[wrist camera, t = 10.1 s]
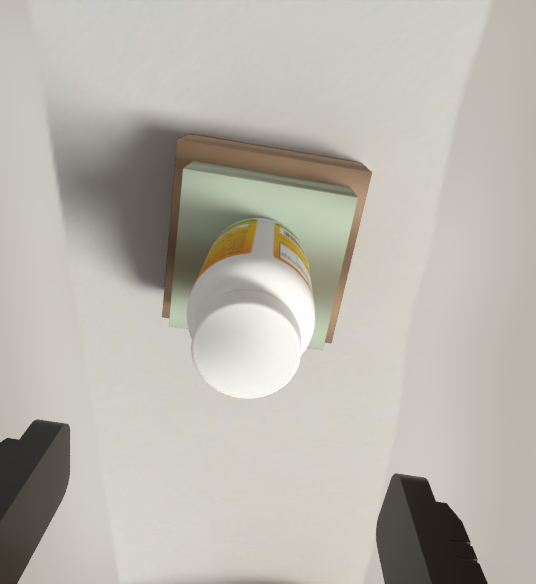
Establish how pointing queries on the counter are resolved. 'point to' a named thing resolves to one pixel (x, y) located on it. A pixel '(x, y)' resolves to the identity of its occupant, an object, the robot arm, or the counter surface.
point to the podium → (263, 215)
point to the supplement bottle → (251, 309)
